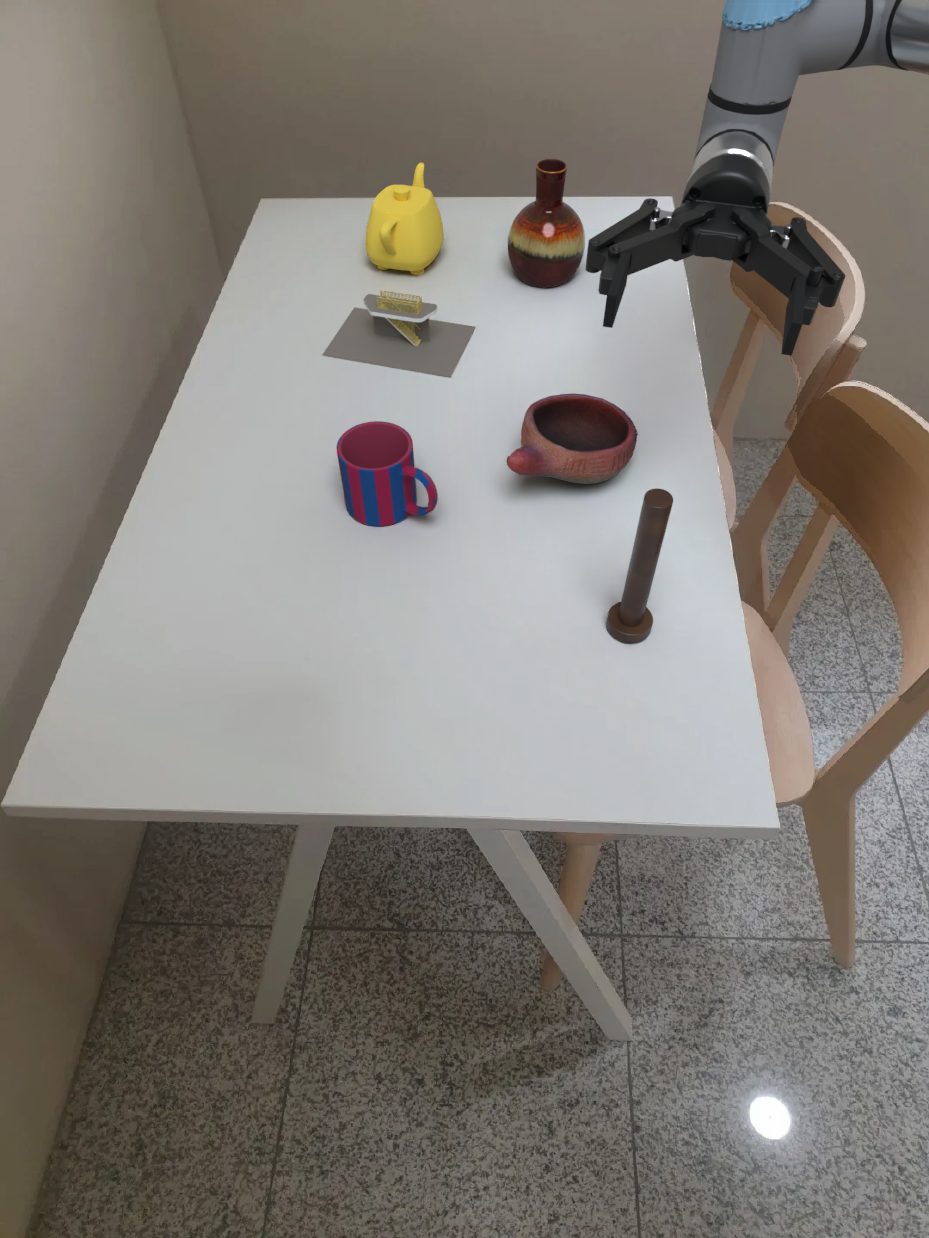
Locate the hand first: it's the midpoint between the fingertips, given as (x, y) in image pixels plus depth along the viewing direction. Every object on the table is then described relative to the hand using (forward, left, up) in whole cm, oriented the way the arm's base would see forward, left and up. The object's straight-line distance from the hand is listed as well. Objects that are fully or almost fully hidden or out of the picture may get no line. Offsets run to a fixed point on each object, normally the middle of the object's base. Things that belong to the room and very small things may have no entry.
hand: (698, 325), depth 63 cm
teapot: (+44, -55, -30) cm, 77 cm away
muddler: (0, +6, -30) cm, 31 cm away
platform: (+38, -34, -30) cm, 59 cm away
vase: (+23, -56, -30) cm, 68 cm away
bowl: (+10, -14, -30) cm, 35 cm away
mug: (+28, -3, -30) cm, 41 cm away
